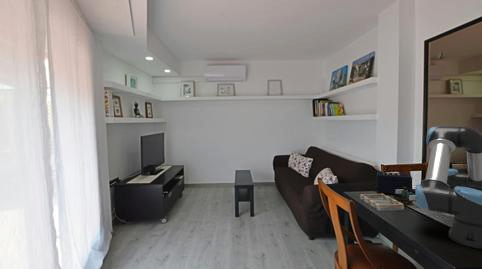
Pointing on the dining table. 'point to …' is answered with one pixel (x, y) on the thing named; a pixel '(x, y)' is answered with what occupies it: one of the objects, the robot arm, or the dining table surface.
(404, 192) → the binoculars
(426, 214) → the dining table surface
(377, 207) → the tray
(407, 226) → the dining table surface
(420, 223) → the dining table surface
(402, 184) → the speaker
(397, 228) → the dining table surface
